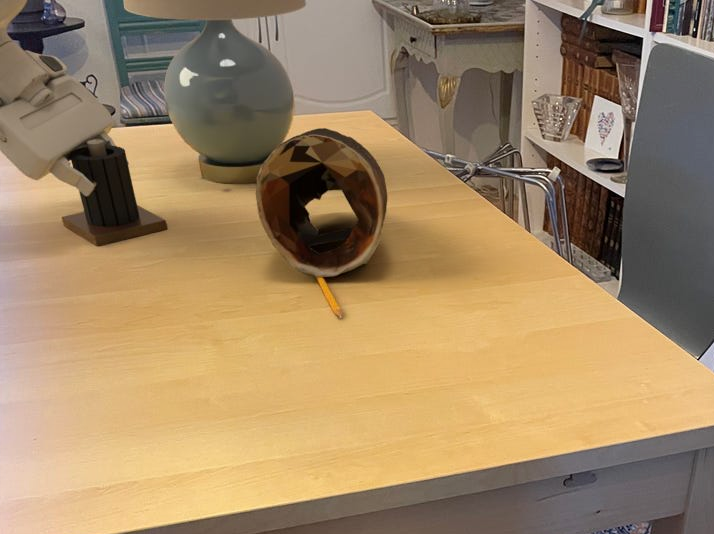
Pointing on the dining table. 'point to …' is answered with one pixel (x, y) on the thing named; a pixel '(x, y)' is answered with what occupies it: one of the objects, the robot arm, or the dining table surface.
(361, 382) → the dining table surface
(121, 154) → the ribbed black tube
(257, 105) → the lamp
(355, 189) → the clay pot
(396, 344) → the dining table surface
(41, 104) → the robot arm
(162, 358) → the dining table surface
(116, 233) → the peg stand
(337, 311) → the pencil
